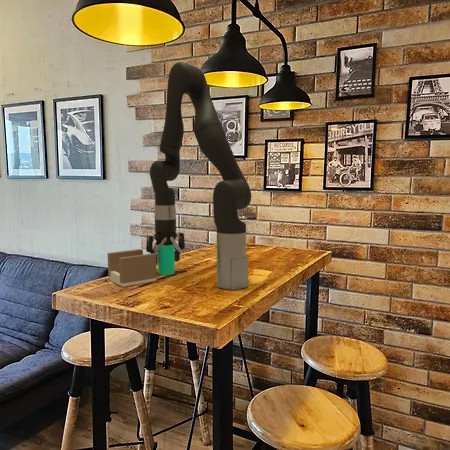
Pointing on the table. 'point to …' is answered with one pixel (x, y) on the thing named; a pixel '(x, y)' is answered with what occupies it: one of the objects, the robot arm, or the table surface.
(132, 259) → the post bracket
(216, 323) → the table surface
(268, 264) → the table surface
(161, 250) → the candle
